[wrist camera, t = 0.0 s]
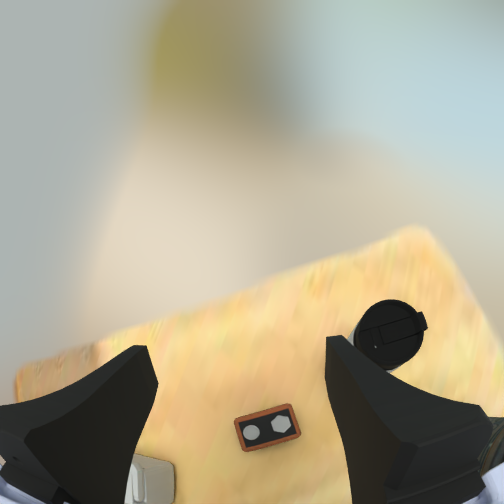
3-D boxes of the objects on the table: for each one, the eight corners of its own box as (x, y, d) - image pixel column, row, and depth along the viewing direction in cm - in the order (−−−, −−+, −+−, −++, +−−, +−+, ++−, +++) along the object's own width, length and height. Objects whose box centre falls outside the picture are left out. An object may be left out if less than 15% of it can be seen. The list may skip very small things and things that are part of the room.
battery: (298, 434, 36) (302, 436, 27) (250, 448, 35) (241, 454, 27) (288, 406, 38) (290, 401, 30) (242, 420, 38) (230, 418, 29)
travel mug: (375, 386, 38) (437, 350, 21) (332, 398, 38) (371, 373, 21) (365, 347, 42) (415, 288, 25) (323, 358, 42) (351, 304, 25)
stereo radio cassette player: (64, 467, 33) (-25, 460, 16) (68, 425, 37) (-21, 404, 21) (176, 505, 30) (107, 543, 14) (180, 458, 35) (108, 470, 18)
